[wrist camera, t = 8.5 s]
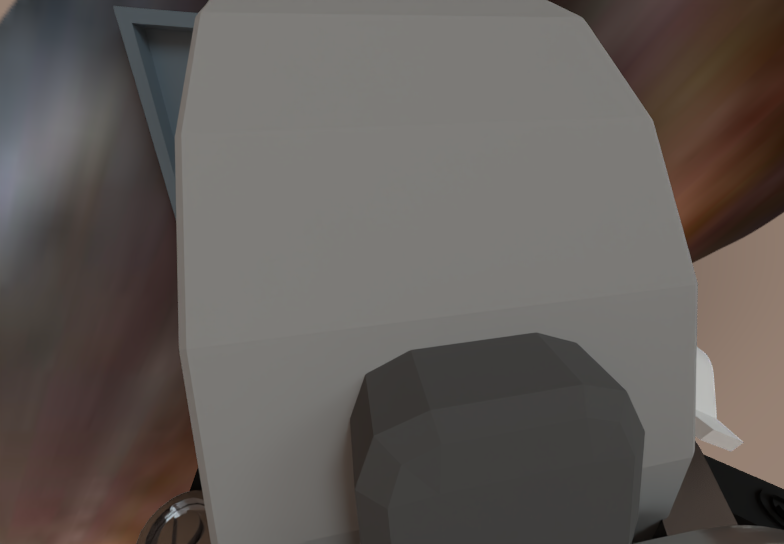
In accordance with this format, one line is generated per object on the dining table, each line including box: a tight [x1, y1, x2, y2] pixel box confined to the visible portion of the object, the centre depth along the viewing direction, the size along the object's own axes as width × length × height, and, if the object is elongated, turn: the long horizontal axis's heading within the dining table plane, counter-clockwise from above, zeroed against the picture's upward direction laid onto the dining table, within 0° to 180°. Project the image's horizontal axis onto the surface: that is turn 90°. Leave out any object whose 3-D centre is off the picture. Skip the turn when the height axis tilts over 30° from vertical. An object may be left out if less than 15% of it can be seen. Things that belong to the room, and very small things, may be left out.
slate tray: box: [113, 6, 198, 219], centre depth 33 cm, size 13×27×3 cm, turn 178°
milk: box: [695, 347, 744, 451], centre depth 39 cm, size 12×12×26 cm
